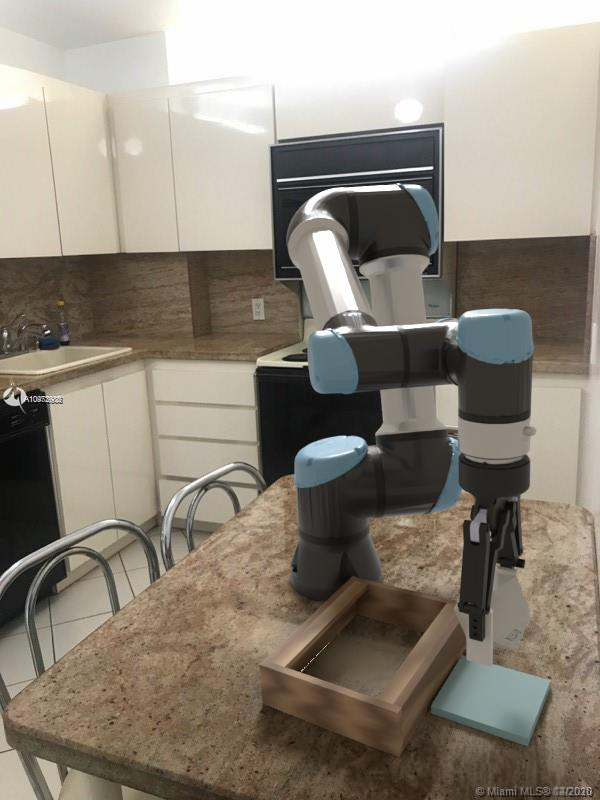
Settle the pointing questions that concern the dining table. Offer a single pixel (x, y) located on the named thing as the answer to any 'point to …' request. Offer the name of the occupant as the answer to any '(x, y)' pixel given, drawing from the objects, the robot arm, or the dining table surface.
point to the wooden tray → (402, 696)
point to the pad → (493, 700)
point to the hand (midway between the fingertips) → (492, 638)
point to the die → (505, 612)
